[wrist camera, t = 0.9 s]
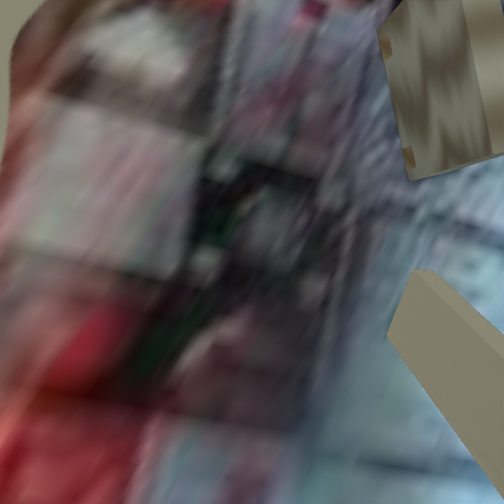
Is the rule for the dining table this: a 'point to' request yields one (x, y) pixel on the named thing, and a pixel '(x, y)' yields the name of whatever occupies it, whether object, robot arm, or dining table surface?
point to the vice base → (446, 82)
